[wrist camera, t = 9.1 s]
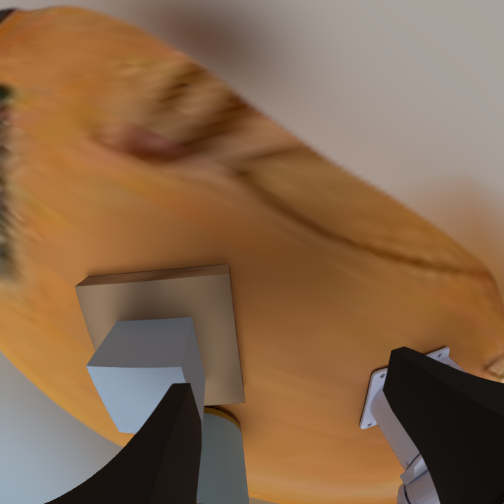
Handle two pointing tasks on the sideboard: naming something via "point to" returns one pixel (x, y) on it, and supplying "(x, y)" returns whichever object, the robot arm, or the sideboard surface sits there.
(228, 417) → the bottle
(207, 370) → the base slab
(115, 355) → the cube
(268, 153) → the sideboard surface
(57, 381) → the sideboard surface
